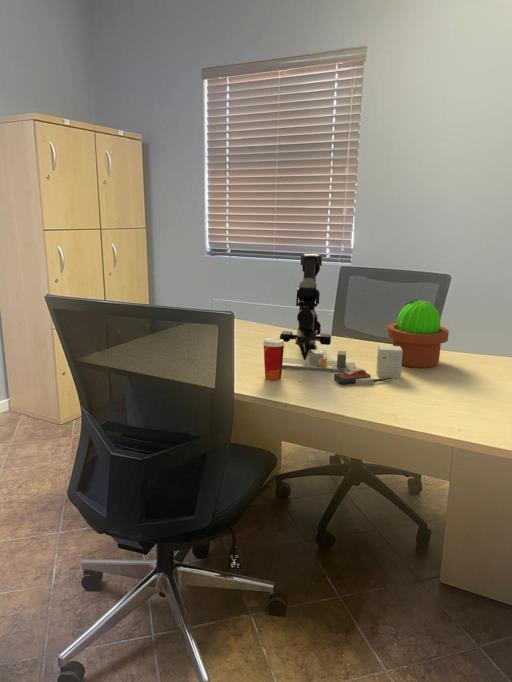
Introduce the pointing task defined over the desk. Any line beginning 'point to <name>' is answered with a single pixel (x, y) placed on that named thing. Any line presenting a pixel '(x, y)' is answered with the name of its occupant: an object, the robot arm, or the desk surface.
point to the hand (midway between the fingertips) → (304, 359)
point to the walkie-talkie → (356, 378)
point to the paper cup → (273, 358)
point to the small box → (389, 361)
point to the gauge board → (331, 366)
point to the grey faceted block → (316, 357)
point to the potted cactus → (418, 334)
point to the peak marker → (323, 361)
